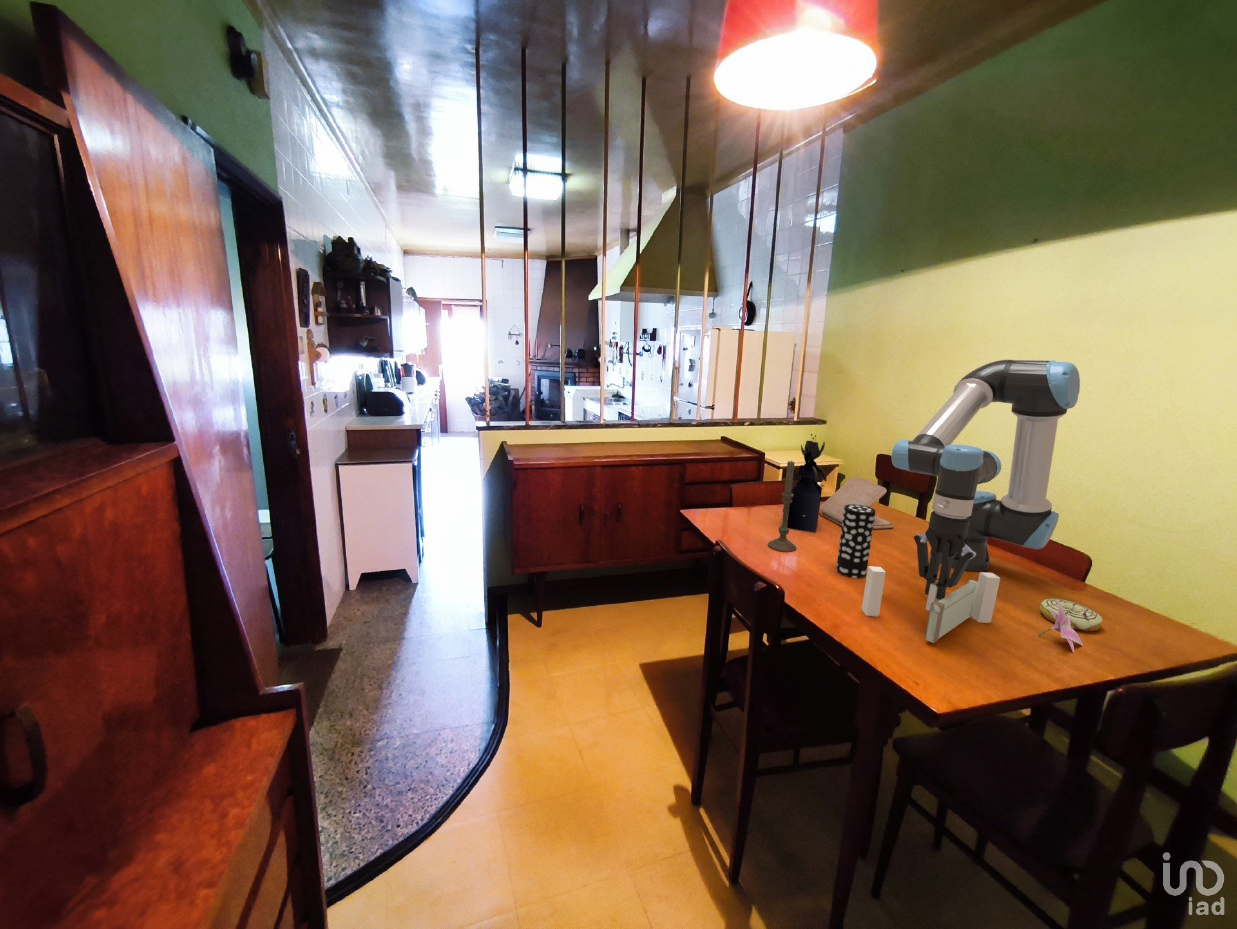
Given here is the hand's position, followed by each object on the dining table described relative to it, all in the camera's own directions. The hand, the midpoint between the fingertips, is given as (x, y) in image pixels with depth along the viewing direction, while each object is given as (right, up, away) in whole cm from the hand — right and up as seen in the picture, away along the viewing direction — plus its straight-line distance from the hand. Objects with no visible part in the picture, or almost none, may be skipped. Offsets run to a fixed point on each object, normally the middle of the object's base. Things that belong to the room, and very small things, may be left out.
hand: (931, 609), depth 121 cm
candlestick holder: (-19, +6, +52) cm, 55 cm away
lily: (+28, -8, -2) cm, 29 cm away
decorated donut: (+39, -6, +8) cm, 41 cm away
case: (+19, +11, +81) cm, 84 cm away
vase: (-4, +10, +72) cm, 73 cm away
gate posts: (+3, -4, +8) cm, 10 cm away
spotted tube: (-4, +2, +33) cm, 34 cm away
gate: (+5, -5, +2) cm, 7 cm away
